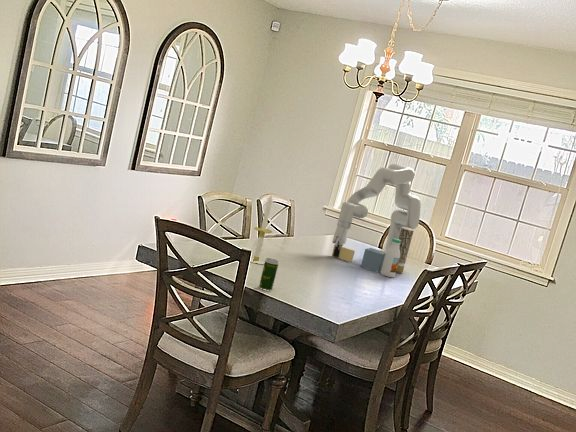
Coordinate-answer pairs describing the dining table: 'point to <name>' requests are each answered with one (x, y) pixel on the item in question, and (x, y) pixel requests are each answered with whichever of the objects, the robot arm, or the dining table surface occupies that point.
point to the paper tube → (404, 247)
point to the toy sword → (262, 230)
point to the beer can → (268, 274)
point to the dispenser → (373, 259)
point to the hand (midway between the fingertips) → (336, 256)
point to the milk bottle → (391, 259)
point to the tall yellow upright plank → (345, 253)
